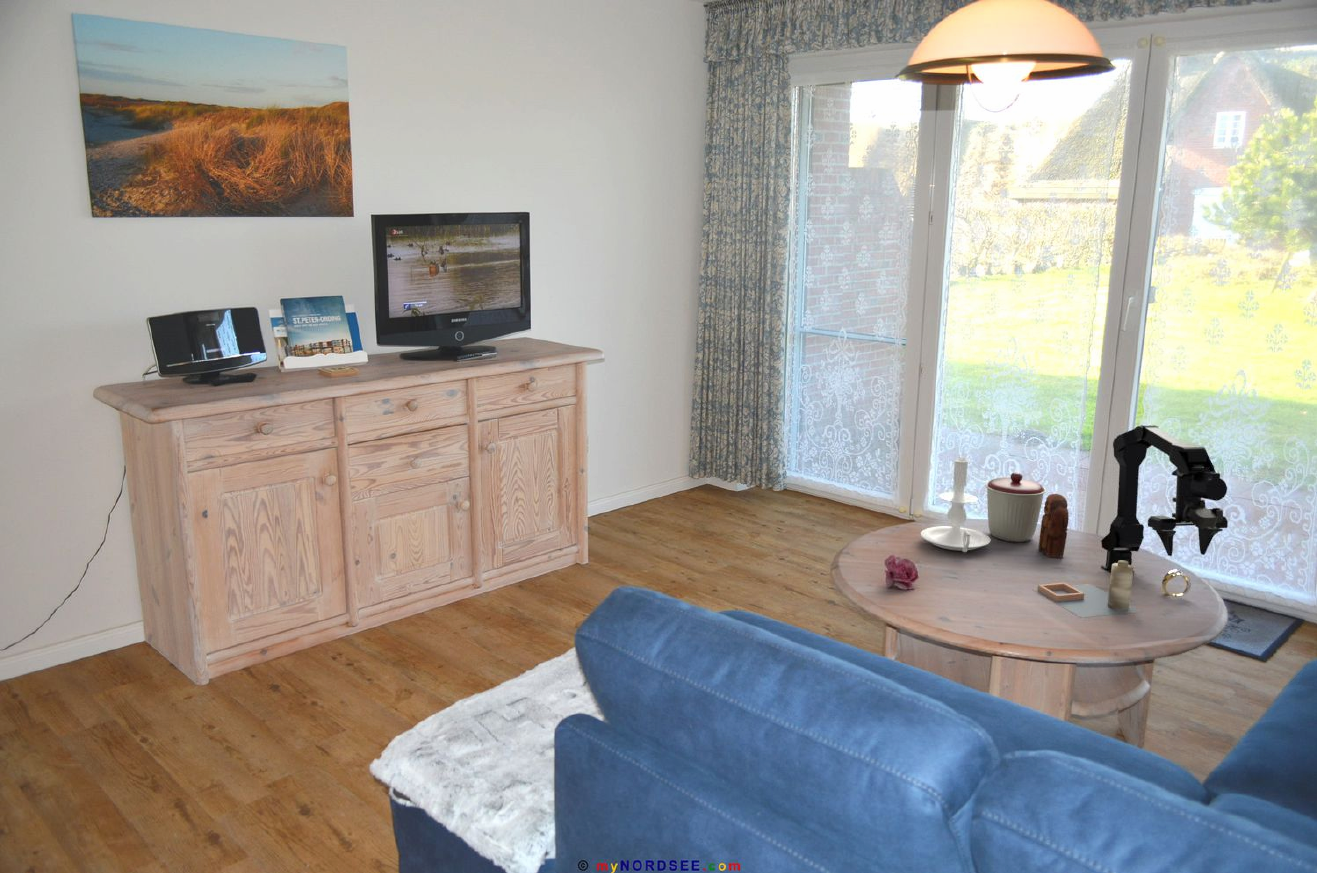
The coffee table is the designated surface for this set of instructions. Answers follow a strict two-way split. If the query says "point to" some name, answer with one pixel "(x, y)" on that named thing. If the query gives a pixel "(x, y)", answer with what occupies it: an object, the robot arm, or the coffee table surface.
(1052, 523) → the wooden figurine
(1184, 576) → the ring
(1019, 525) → the canister
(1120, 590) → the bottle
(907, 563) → the flower
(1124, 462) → the robot arm
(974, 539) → the candlestick
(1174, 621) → the coffee table surface
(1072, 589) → the board
